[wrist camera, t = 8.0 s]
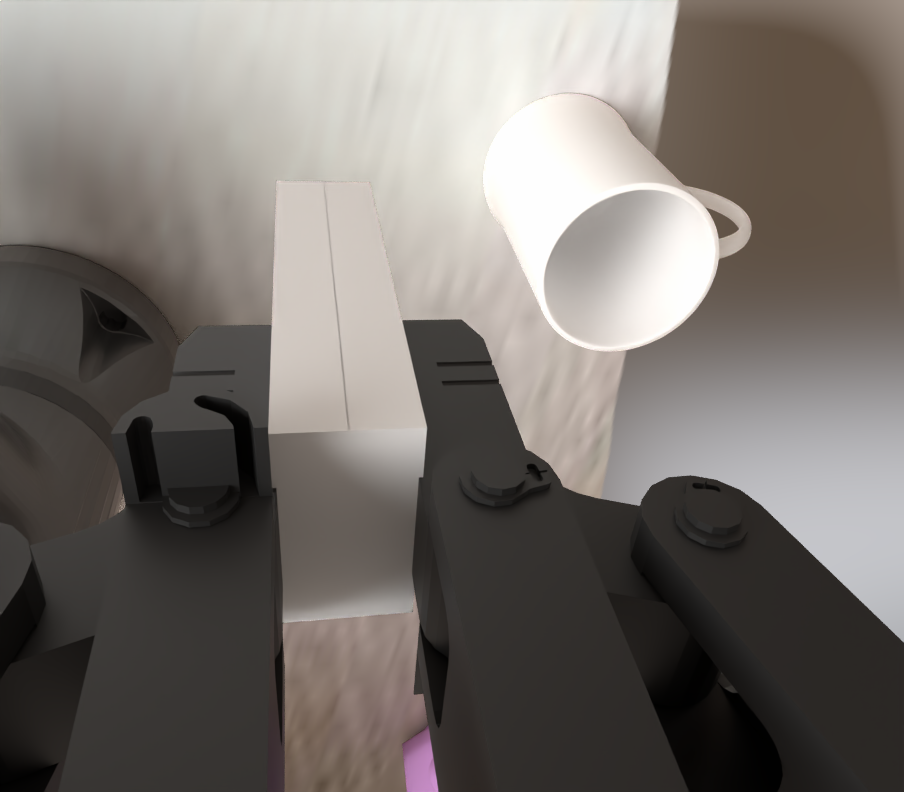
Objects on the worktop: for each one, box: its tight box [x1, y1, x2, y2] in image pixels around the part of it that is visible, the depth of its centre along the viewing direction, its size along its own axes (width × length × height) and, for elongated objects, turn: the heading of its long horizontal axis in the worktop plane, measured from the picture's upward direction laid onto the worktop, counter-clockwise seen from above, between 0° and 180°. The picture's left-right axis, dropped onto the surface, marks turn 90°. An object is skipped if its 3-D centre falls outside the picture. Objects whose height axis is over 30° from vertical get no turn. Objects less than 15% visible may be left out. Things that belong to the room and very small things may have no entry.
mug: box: [483, 93, 752, 351], centre depth 38 cm, size 12×8×12 cm
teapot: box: [402, 726, 438, 792], centre depth 71 cm, size 18×14×10 cm
